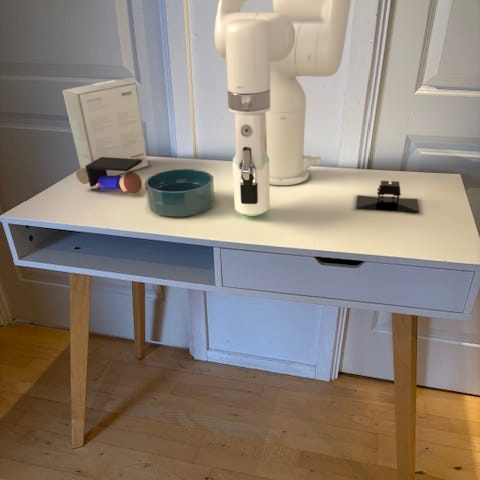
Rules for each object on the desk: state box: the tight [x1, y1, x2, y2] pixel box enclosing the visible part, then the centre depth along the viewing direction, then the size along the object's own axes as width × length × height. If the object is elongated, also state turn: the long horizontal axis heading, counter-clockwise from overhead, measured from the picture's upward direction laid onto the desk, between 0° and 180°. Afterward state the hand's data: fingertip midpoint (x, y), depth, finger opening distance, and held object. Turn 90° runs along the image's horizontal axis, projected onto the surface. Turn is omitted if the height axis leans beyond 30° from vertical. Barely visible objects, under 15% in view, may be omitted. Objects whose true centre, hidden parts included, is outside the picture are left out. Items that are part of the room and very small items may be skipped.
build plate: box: [355, 180, 420, 215], centre depth 101 cm, size 12×7×5 cm, turn 76°
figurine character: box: [75, 157, 143, 195], centre depth 112 cm, size 7×8×15 cm
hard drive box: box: [62, 78, 149, 176], centre depth 120 cm, size 16×8×20 cm, turn 133°
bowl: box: [144, 168, 216, 217], centre depth 104 cm, size 14×14×6 cm
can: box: [232, 151, 271, 217], centre depth 97 cm, size 7×7×12 cm
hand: (251, 194), depth 98 cm, fingers closed on can, 7 cm apart
